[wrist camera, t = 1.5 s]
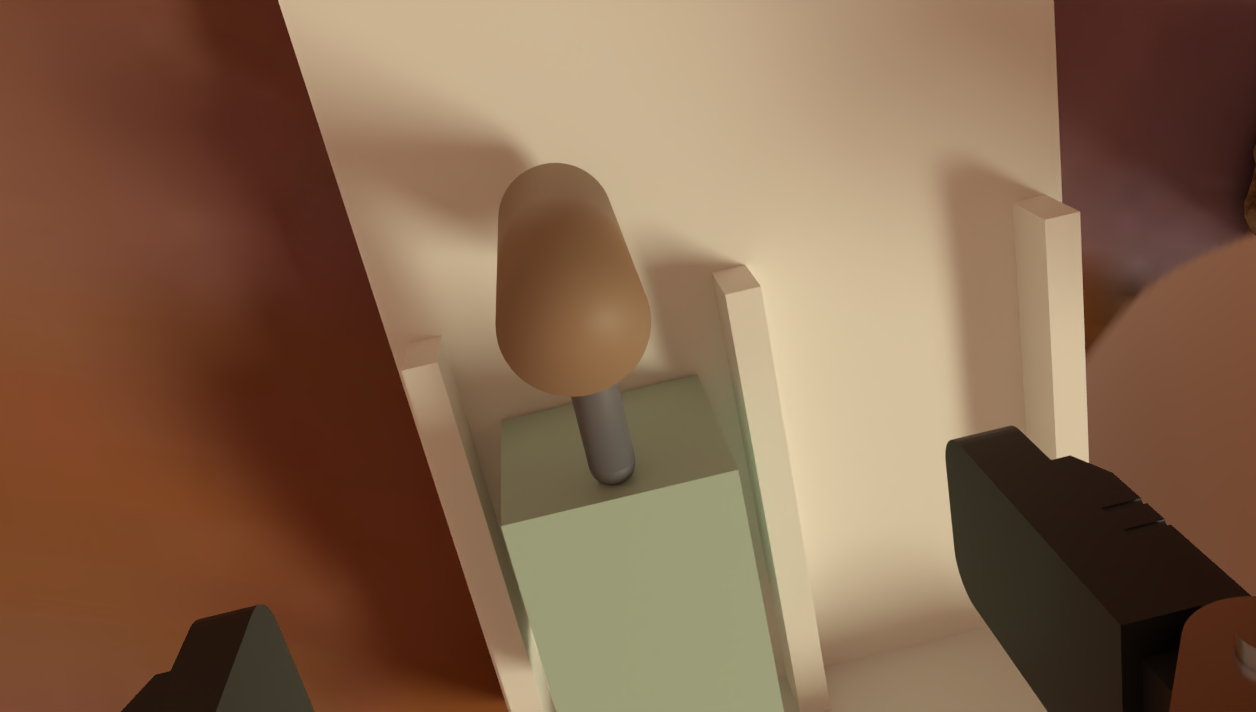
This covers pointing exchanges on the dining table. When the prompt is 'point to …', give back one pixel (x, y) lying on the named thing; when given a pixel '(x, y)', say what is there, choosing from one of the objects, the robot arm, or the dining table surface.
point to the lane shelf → (740, 280)
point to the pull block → (617, 479)
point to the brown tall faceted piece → (1251, 201)
